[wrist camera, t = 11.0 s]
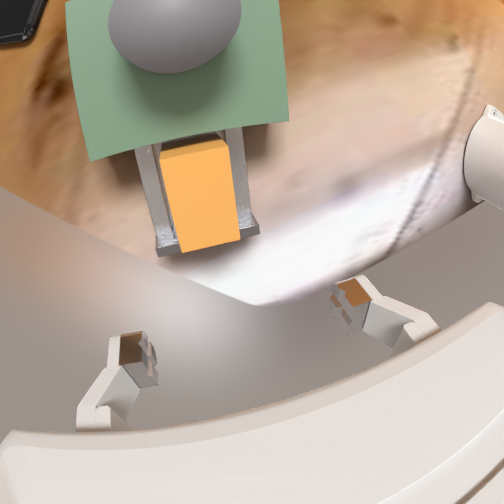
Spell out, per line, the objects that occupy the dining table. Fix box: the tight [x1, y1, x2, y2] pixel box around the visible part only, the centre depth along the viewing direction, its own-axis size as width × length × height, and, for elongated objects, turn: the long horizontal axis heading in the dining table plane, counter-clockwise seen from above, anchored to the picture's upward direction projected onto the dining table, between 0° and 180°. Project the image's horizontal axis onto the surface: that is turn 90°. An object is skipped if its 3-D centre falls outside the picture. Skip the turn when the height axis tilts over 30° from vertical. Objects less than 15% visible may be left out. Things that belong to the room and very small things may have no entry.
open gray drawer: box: [134, 127, 260, 257], centre depth 25 cm, size 10×11×4 cm
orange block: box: [159, 133, 241, 253], centre depth 24 cm, size 5×8×6 cm, turn 6°
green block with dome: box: [65, 0, 289, 162], centre depth 16 cm, size 16×14×9 cm
